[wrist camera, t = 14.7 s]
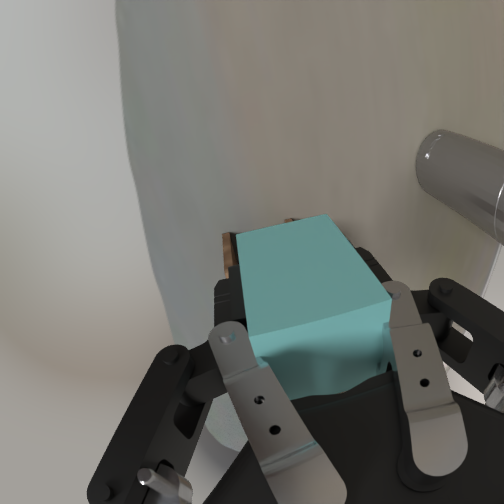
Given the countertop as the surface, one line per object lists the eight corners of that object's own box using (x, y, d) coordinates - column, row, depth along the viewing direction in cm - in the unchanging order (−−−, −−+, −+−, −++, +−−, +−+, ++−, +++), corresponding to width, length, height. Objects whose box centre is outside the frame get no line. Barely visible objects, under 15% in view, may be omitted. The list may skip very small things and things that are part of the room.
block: (326, 214, 13) (391, 298, 7) (332, 286, 15) (379, 379, 9) (235, 234, 13) (248, 337, 8) (254, 305, 15) (272, 409, 10)
